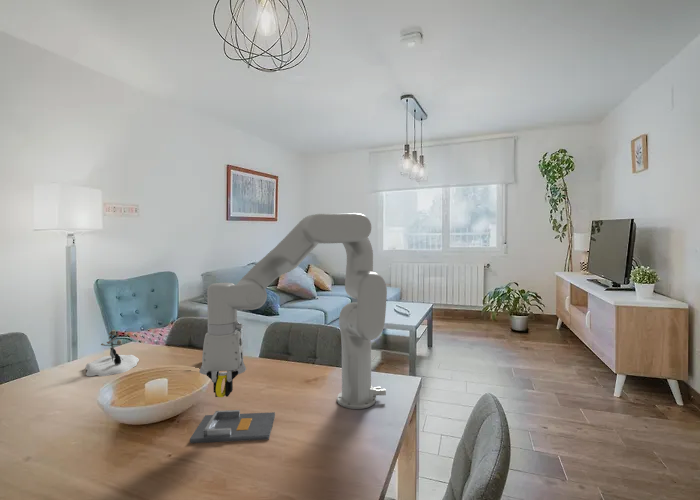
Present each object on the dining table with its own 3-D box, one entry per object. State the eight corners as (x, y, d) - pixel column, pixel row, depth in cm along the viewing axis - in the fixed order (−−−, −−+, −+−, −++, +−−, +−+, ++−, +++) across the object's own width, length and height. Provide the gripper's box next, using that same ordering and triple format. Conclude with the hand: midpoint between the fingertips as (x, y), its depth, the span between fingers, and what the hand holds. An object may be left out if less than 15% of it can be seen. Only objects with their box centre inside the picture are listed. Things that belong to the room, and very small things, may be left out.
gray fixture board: (274, 416, 104) (274, 407, 104) (268, 439, 92) (268, 429, 92) (205, 419, 103) (205, 410, 103) (190, 443, 91) (189, 433, 91)
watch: (223, 400, 94) (222, 378, 93) (213, 400, 94) (212, 378, 94) (232, 390, 100) (232, 369, 99) (223, 390, 100) (222, 369, 100)
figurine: (91, 360, 150) (89, 323, 148) (140, 355, 157) (139, 319, 155) (78, 382, 132) (76, 340, 130) (134, 375, 139) (133, 335, 137)
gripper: (254, 324, 101) (255, 388, 101) (197, 325, 99) (198, 389, 100) (249, 331, 93) (249, 400, 94) (187, 332, 92) (188, 402, 92)
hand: (223, 394), depth 97 cm, fingers closed on watch, 2 cm apart
